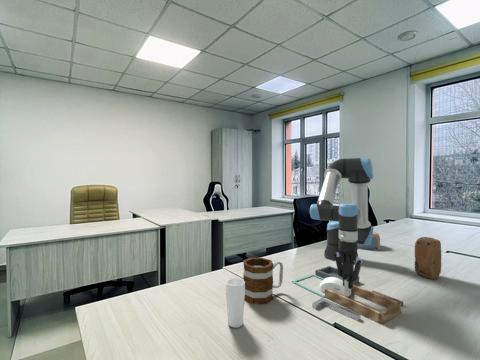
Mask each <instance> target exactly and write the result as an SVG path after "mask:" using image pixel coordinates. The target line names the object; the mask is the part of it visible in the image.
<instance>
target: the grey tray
mask: <svg viewBox="0 0 480 360" xmlns="http://www.w3.org/2000/svg"><path fill="white" fill-rule="evenodd" d="M314 273H315V274H314V275H316V276H319V277H321V278H324V279H325V278H328V277H336V278H339V279H341V280H342V281H343V278H342V277H341V276H339V275H338V270H337V267H334V266H331V265H327V266H325V267H321V268H318V269H315V272H314ZM347 279H348V278H347ZM358 283H360V275H359V276H358V279H357V280H356V281H353V285H356V284H358Z"/></svg>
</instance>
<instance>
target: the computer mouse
mask: <svg viewBox="0 0 480 360" xmlns="http://www.w3.org/2000/svg"><path fill="white" fill-rule="evenodd" d="M325 289H329V290H331V291H333V292H336V293H338V294H340V295H343V296H345V295H344V286H343V281H342V280H341V279H339V278H336V277H328V278H325V279H324V280H321V282H320V284H319V290H320V292H323V293H325ZM345 297H347V298H349V296H345Z"/></svg>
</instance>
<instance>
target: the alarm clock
mask: <svg viewBox="0 0 480 360" xmlns="http://www.w3.org/2000/svg"><path fill="white" fill-rule="evenodd" d="M380 236H381V235H380V234H379V233H378V232H377V231H374V230H373V236H372V242H371V244H370V245H362V244H358V249H360V250H366V251H367V250H368V251H372V250H373V251H374V250H380V249H381V237H380Z"/></svg>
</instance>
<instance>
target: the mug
mask: <svg viewBox="0 0 480 360" xmlns="http://www.w3.org/2000/svg"><path fill="white" fill-rule="evenodd" d="M242 261H243V276H242V277H243V278H242V280H244V281H245V301H244V302H248V303H250V304H252V305H266V304H267V305H268V304H269V303H270V302H272V301H273V300H274V293H273V289H278V288H280V287H281V286H282V284H283V277H284V276H283V275H284V266H283V265H284V264H283V262H281V261H279V260H277V261H275V262H273V261H272V259H268V258H264V257H250V258H249V257H248V258H247V259H244V260H242ZM278 265H279V272H278V274H279V276H278V282H277V284H274V276H273V275H274V271H273V270H274V269H275V268H276V267H277V266H278Z"/></svg>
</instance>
